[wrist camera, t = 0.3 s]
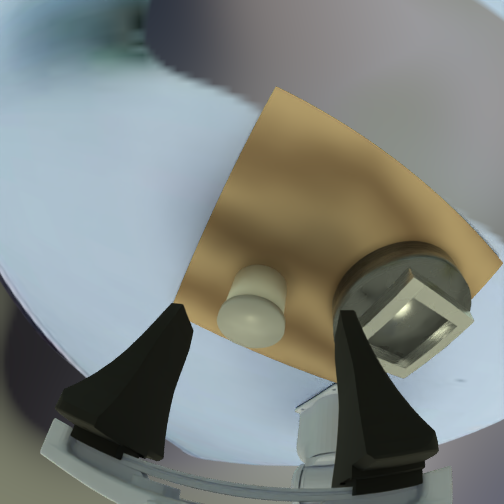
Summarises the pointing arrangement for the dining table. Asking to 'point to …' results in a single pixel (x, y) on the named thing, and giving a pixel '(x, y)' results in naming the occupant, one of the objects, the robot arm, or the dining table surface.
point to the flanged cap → (254, 308)
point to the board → (316, 225)
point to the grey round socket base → (405, 303)
